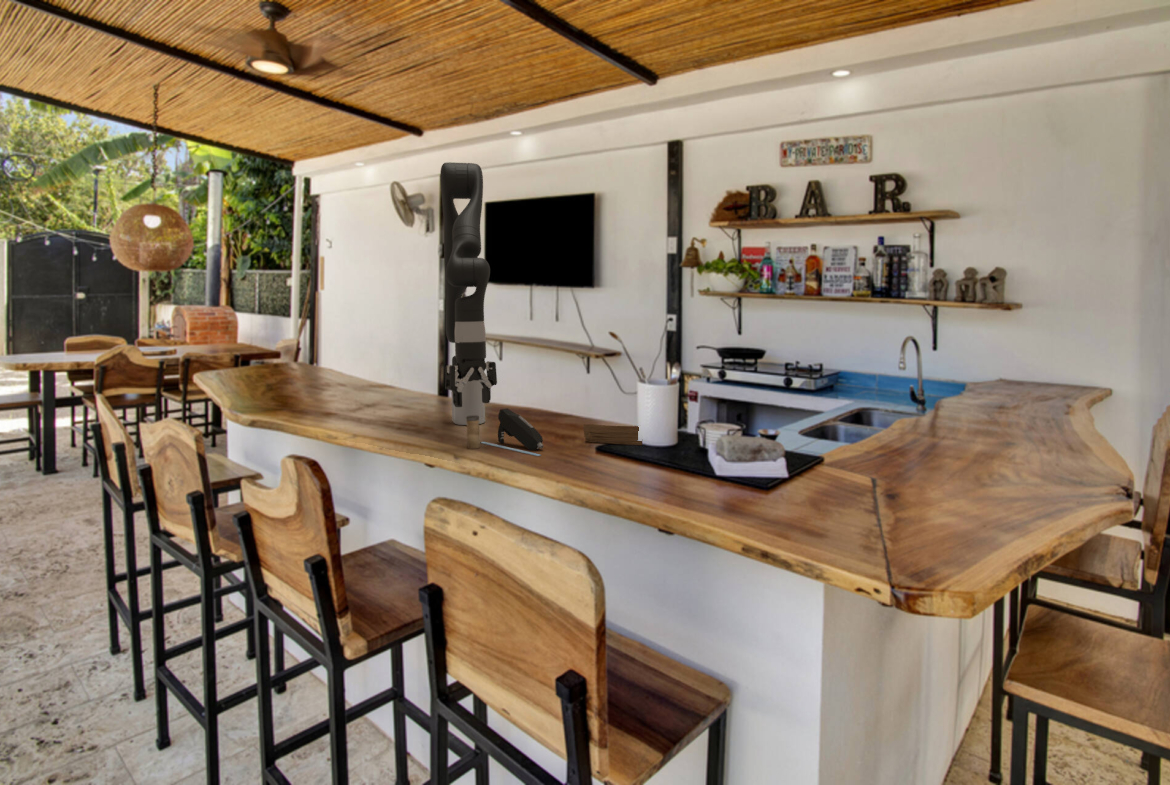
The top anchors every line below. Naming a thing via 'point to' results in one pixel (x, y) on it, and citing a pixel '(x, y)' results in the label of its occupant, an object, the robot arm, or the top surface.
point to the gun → (518, 430)
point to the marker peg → (473, 432)
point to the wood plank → (612, 434)
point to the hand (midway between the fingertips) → (472, 404)
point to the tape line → (511, 449)
